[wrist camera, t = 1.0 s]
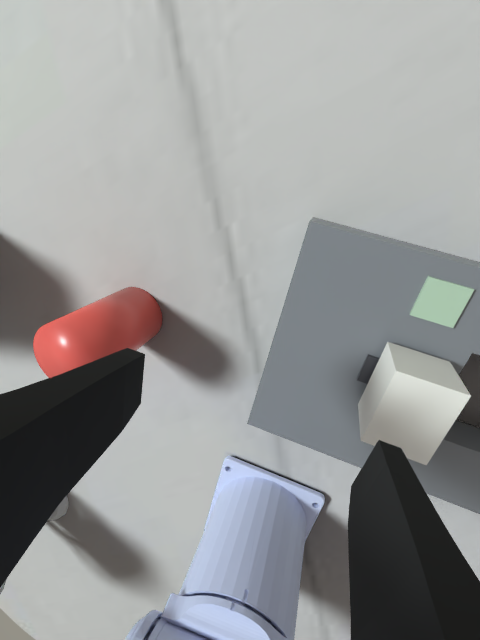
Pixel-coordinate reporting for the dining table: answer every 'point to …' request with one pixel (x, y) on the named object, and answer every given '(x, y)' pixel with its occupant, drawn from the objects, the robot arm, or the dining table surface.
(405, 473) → the robot arm
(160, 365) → the dining table surface
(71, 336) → the pin
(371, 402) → the lever
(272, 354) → the breaker panel
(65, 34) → the dining table surface
